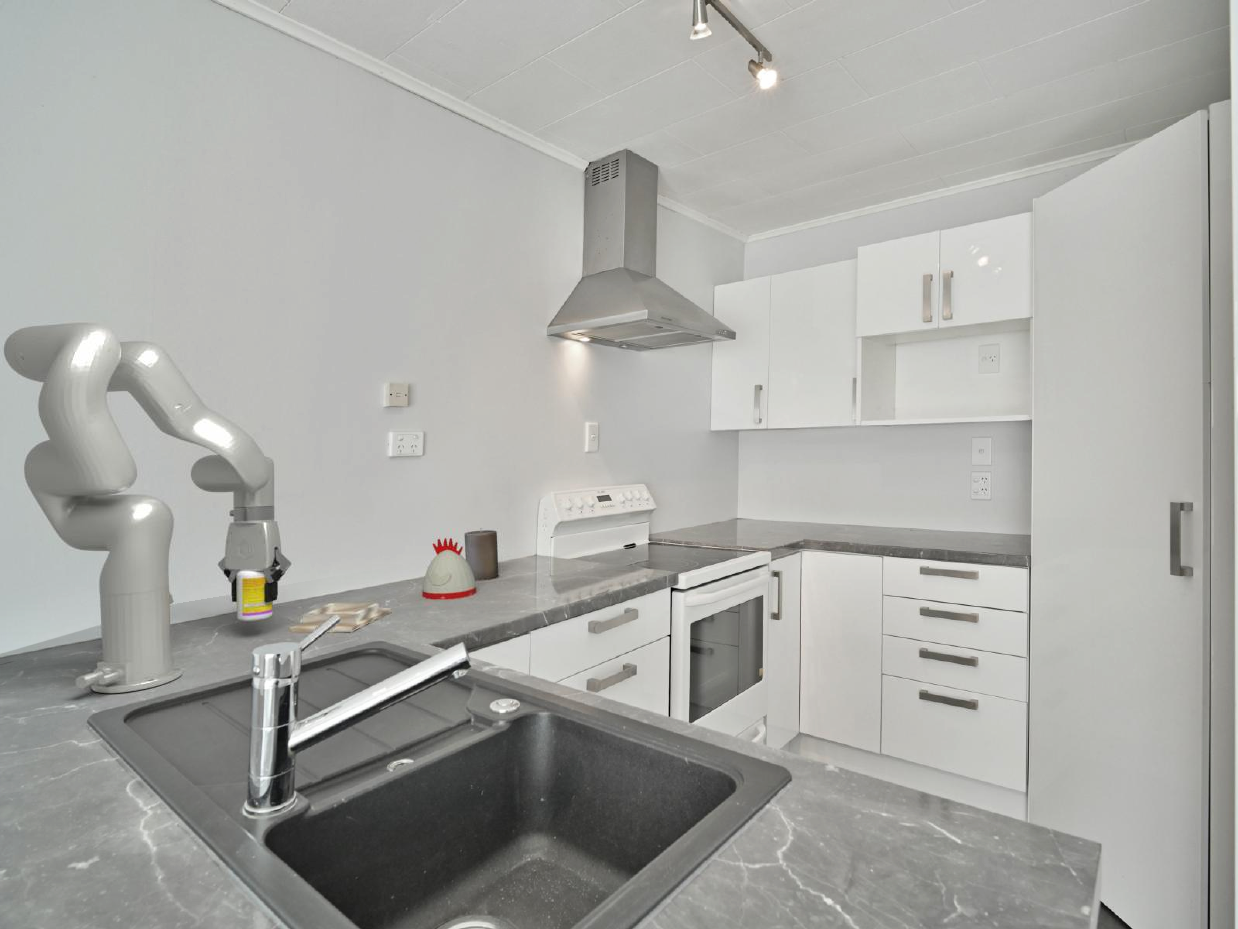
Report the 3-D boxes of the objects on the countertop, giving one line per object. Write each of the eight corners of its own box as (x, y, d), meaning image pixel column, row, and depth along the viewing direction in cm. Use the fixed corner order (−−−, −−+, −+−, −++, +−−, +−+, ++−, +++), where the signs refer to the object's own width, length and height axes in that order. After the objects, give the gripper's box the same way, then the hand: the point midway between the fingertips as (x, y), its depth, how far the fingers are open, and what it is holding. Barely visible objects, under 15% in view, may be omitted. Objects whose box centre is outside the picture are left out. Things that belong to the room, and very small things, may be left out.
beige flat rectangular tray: (351, 633, 142) (350, 618, 142) (290, 632, 144) (289, 618, 144) (391, 612, 160) (391, 599, 159) (336, 611, 161) (336, 599, 161)
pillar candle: (503, 574, 206) (501, 525, 206) (491, 580, 196) (489, 529, 196) (473, 574, 208) (471, 526, 208) (460, 580, 198) (458, 530, 198)
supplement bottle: (279, 617, 141) (278, 555, 141) (247, 623, 135) (247, 559, 136) (261, 613, 145) (261, 554, 145) (230, 619, 139) (229, 557, 139)
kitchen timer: (435, 588, 187) (434, 535, 187) (483, 588, 185) (481, 534, 185) (413, 599, 174) (412, 541, 173) (464, 600, 172) (463, 541, 171)
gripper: (203, 516, 138) (203, 604, 138) (281, 516, 136) (281, 604, 135) (229, 514, 145) (229, 597, 145) (303, 514, 143) (304, 598, 143)
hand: (254, 600), depth 140 cm, fingers closed on supplement bottle, 6 cm apart
